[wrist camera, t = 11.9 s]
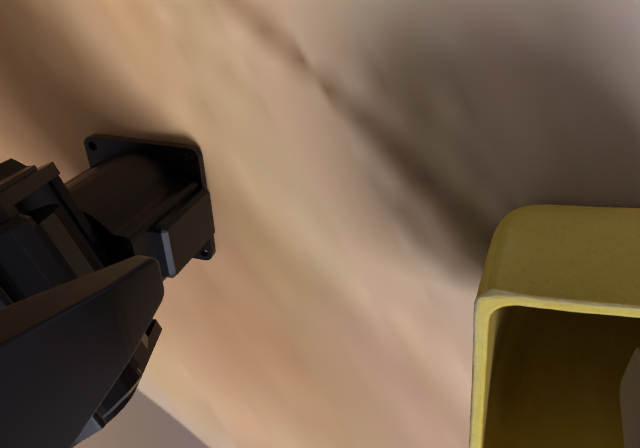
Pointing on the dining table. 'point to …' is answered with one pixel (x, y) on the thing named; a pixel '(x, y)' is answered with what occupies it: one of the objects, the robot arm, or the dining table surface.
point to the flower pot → (555, 328)
